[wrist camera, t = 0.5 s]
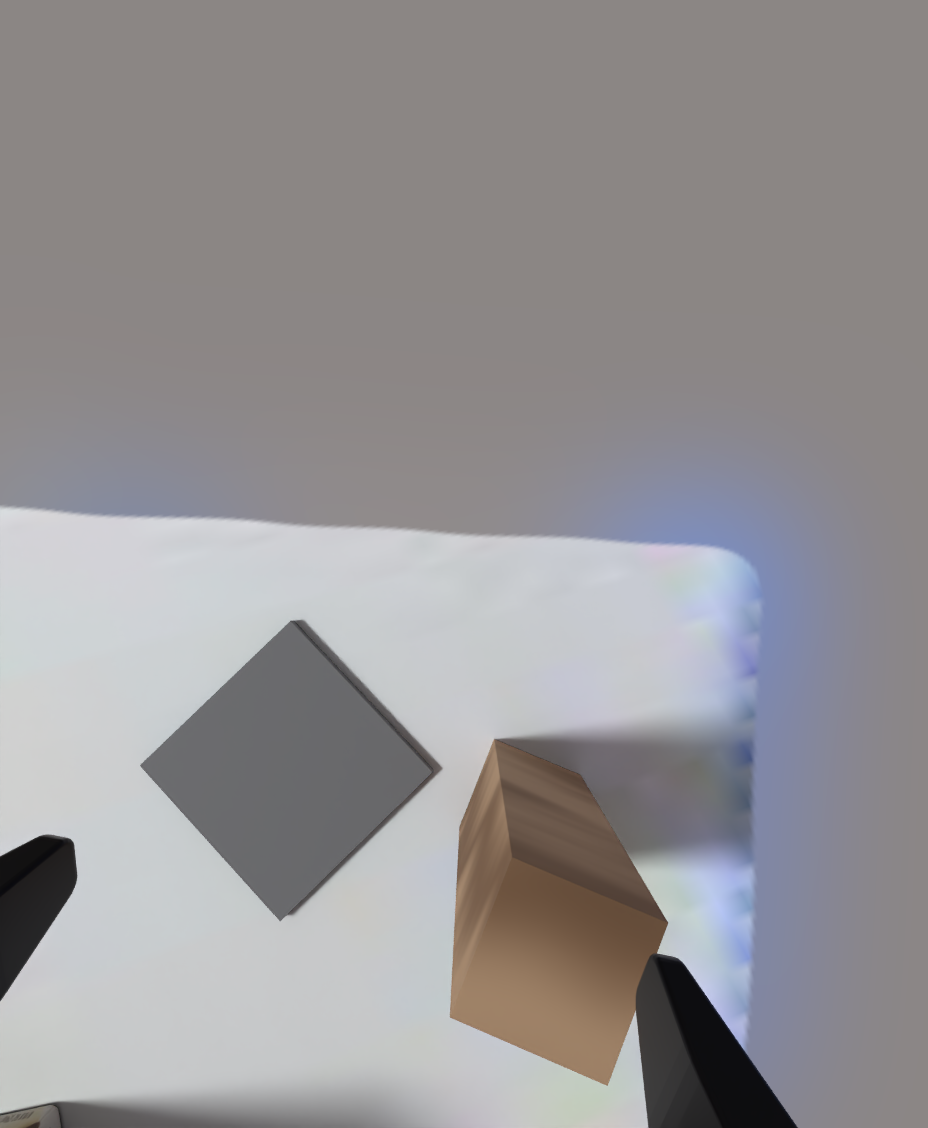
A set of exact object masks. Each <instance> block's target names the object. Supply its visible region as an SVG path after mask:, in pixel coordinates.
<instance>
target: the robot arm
mask: <svg viewBox="0 0 928 1128" xmlns="http://www.w3.org/2000/svg"><path fill="white" fill-rule="evenodd" d="M76 881H77V867H76V858H75V849H74V843H73V841H72V840H71V839H69V838H65V837H60V836H55V835H42V836H39V837H37V838H35V839H33V840H31V841H29V842H27V843H25V844H23V845H21V846H19V847H17V848H15V849H13V850H11V851H9V852H8V853H6V854H4V855H2V856H0V1001H1V1000H2V998H3V997H4V995H5V994H6V992H7V991H8V989H9V988H10V986H11V985H12V983H13V982H14V980H15V979H16V977H17V976H18V974H19V973H20V971H21V970H22V968H23V967H24V965H25V964H26V962H27V961H28V959H29V958H30V956H31V955H32V953H33V952H34V950H35V949H36V947H37V946H38V944H39V943H40V941H41V940H42V938H43V937H44V935H45V933H46V932H47V930H48V929H49V927H50V926H51V924H52V923H53V921H54V920H55V918H56V917H57V915H58V914H59V912H60V911H61V909H62V908H63V906H64V905H65V903H66V902H67V900H68V899H69V897H70V896H71V894H72V892H73V890H74V888H75V885H76ZM635 1001H636V1015H637V1025H638V1034H639V1044H640V1053H641V1062H642V1072H643V1081H644V1090H645V1100H646V1109H647V1119H648V1127H649V1128H798V1127H797V1126H796V1125H795V1123H794V1122H793V1120H792V1119H791V1117H790V1116H789V1114H788V1113H787V1112H786V1110H785V1109H784V1107H783V1106H782V1104H781V1103H780V1102H779V1100H778V1099H777V1097H776V1096H775V1094H774V1093H773V1092H772V1090H771V1089H770V1087H769V1086H768V1084H767V1083H766V1081H765V1080H764V1078H763V1077H762V1076H761V1074H760V1073H759V1071H758V1070H757V1068H756V1067H755V1065H754V1064H753V1063H752V1061H751V1060H750V1058H749V1057H748V1055H747V1054H746V1052H745V1051H744V1050H743V1048H742V1047H741V1045H740V1044H739V1042H738V1041H737V1040H736V1038H735V1037H734V1035H733V1034H732V1032H731V1031H730V1029H729V1028H728V1027H727V1025H726V1024H725V1022H724V1021H723V1019H722V1018H721V1016H720V1015H719V1014H718V1012H717V1011H716V1009H715V1008H714V1006H713V1005H712V1004H711V1002H710V1001H709V999H708V998H707V996H706V995H705V993H704V992H703V991H702V989H701V988H700V986H699V985H698V983H697V982H696V980H695V979H694V978H693V976H692V975H691V973H690V972H689V970H688V969H687V968H686V966H685V965H684V964H683V962H682V961H680V960H679V959H678V958H676V957H672V956H667V955H662V954H657V953H653V954H652V955H650V957H649V958H648V961H647V963H646V966H645V968H644V971H643V974H642V976H641V979H640V981H639V984H638V987H637V990H636V1000H635Z"/></svg>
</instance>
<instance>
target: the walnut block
mask: <svg viewBox="0 0 928 1128" xmlns="http://www.w3.org/2000/svg"><path fill="white" fill-rule="evenodd" d="M667 925H668V922H667V920H666V919H665V917H664V915H663V914H662V912H661V910H660V908H659V907H658V905H657V903H656V902H655V900H654V898H653V897H652V895H651V893H650V892H649V890H648V888H647V886H646V885H645V883H644V881H643V880H642V878H641V876H640V875H639V873H638V871H637V870H636V868H635V866H634V865H633V863H632V861H631V859H630V858H629V856H628V854H627V853H626V851H625V849H624V848H623V846H622V844H621V843H620V841H619V839H618V837H617V836H616V834H615V832H614V831H613V829H612V827H611V826H610V824H609V822H608V821H607V819H606V817H605V815H604V814H603V812H602V810H601V809H600V807H599V805H598V804H597V802H596V800H595V799H594V797H593V795H592V794H591V792H590V790H589V788H588V787H587V785H586V783H585V782H584V780H583V778H582V777H581V775H579V774H577V773H575V772H572V771H570V770H567V769H565V768H563V767H560V766H558V765H555V764H553V763H550V762H548V761H546V760H543V759H541V758H538V757H536V756H534V755H531V754H529V753H526V752H524V751H521V750H519V749H517V748H514V747H512V746H509V745H507V744H505V743H502V742H500V741H497V740H495V739H494V741H493V743H492V746H491V749H490V751H489V754H488V756H487V759H486V761H485V764H484V766H483V769H482V771H481V774H480V776H479V779H478V781H477V784H476V787H475V789H474V792H473V794H472V797H471V799H470V802H469V804H468V807H467V809H466V812H465V814H464V817H463V819H462V822H461V825H460V829H459V848H458V868H457V888H456V908H455V927H454V947H453V967H452V986H451V1006H450V1018H453V1019H455V1020H457V1021H460V1022H462V1023H464V1024H467V1025H469V1026H471V1027H473V1028H476V1029H478V1030H480V1031H483V1032H485V1033H487V1034H490V1035H492V1036H494V1037H496V1038H499V1039H501V1040H503V1041H506V1042H508V1043H510V1044H513V1045H515V1046H517V1047H519V1048H522V1049H524V1050H526V1051H529V1052H531V1053H533V1054H536V1055H538V1056H540V1057H542V1058H545V1059H547V1060H549V1061H552V1062H554V1063H556V1064H559V1065H561V1066H563V1067H566V1068H568V1069H570V1070H572V1071H575V1072H577V1073H579V1074H582V1075H584V1076H586V1077H589V1078H591V1079H593V1080H595V1081H598V1082H600V1083H602V1084H605V1085H607V1086H608V1083H609V1080H610V1078H611V1075H612V1072H613V1070H614V1067H615V1064H616V1061H617V1059H618V1056H619V1053H620V1051H621V1048H622V1045H623V1043H624V1040H625V1037H626V1035H627V1032H628V1029H629V1027H630V1024H631V1021H632V1019H633V1016H634V1013H635V1010H636V1001H635V1000H636V990H637V987H638V984H639V981H640V979H641V976H642V974H643V971H644V968H645V966H646V963H647V961H648V958H649V957H650V955H652V954H653V953H657V951H658V949H659V946H660V943H661V941H662V938H663V935H664V933H665V930H666V927H667Z"/></svg>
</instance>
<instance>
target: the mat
mask: <svg viewBox="0 0 928 1128" xmlns="http://www.w3.org/2000/svg"><path fill="white" fill-rule="evenodd" d="M140 766H141V767H142V768H143V770H144V771H145V772H146V773H147V774H148V775H149V776H150V777H151V778H152V780H153V781H154V782H155V783H156V784H157V785H158V786H159V787H160V788H161V790H162V791H163V792H164V793H165V794H166V795H167V796H168V797H169V798H170V800H171V801H172V802H173V803H174V804H175V805H176V806H177V807H178V808H179V810H180V811H181V812H182V813H183V814H184V815H185V816H186V817H187V818H188V819H189V821H190V822H191V823H192V824H193V825H194V826H195V827H196V828H197V829H198V831H199V832H200V833H201V834H202V835H203V836H204V837H205V838H206V839H207V841H208V842H209V843H210V844H211V845H212V846H213V847H214V848H215V849H216V851H217V852H218V853H219V854H220V855H221V856H222V857H223V858H224V859H225V861H226V862H227V863H228V864H229V865H230V866H231V867H232V868H233V869H234V871H235V872H236V873H237V874H238V875H239V876H240V877H241V878H242V879H243V881H244V882H245V883H246V884H247V885H248V886H249V887H250V888H251V889H252V891H253V892H254V893H255V894H256V895H257V896H258V897H259V898H260V899H261V900H262V902H263V903H264V904H265V905H266V906H267V907H268V908H269V909H270V910H271V912H272V913H273V914H274V915H275V916H276V917H277V918H278V919H279V920H280V921H281V920H282V919H283V918H284V917H285V916H286V915H287V914H288V913H289V912H290V911H291V910H292V909H293V908H294V907H295V906H296V905H297V904H298V903H299V902H300V901H301V900H302V899H303V898H304V897H305V896H307V895H308V894H309V893H310V892H311V891H312V890H313V889H314V888H315V887H316V886H317V885H318V884H319V883H320V882H321V881H322V880H323V879H324V878H325V877H326V876H327V875H328V874H329V873H330V872H331V871H332V870H333V869H334V868H335V867H336V866H337V865H338V864H339V863H340V862H341V861H342V860H343V859H344V858H345V857H346V856H347V855H348V854H349V853H350V852H351V851H352V850H354V849H355V848H356V847H357V846H358V845H359V844H360V843H361V842H362V841H363V840H364V839H365V838H366V837H367V836H368V835H369V834H370V833H371V832H372V831H373V830H374V829H375V828H376V827H377V826H378V825H379V824H380V823H381V822H382V821H383V820H384V819H385V818H386V817H387V816H388V815H389V814H390V813H391V812H392V811H393V810H394V809H395V808H396V807H397V806H398V805H399V804H401V803H402V802H403V801H404V800H405V799H406V798H407V797H408V796H409V795H410V794H411V793H412V792H413V791H414V790H415V789H416V788H417V787H418V786H419V785H420V784H421V783H422V782H423V781H424V780H425V779H426V778H427V777H428V776H429V775H430V774H431V773H432V772H433V769H432V768H431V767H430V765H429V764H428V763H427V762H426V761H425V760H424V759H423V758H422V757H421V756H420V755H419V754H418V753H417V752H416V751H415V750H414V748H413V747H412V746H411V745H410V744H409V743H408V742H407V741H406V740H405V739H404V738H403V737H402V736H401V735H400V734H399V732H398V731H397V730H396V729H395V728H394V727H393V726H392V725H391V724H390V723H389V722H388V721H387V720H386V719H385V718H384V717H383V715H382V714H381V713H380V712H379V711H378V710H377V709H376V708H375V707H374V706H373V705H372V704H371V703H370V702H369V701H368V699H367V698H366V697H365V696H364V695H363V694H362V693H361V692H360V691H359V690H358V689H357V688H356V687H355V686H354V685H353V683H352V682H351V681H350V680H349V679H348V678H347V677H346V676H345V675H344V674H343V673H342V672H341V671H340V670H339V669H338V668H337V666H336V665H335V664H334V663H333V662H332V661H331V660H330V659H329V658H328V657H327V656H326V655H325V654H324V653H323V652H322V650H321V649H320V648H319V647H318V646H317V645H316V644H315V643H314V642H313V641H312V640H311V639H310V638H309V637H308V636H307V634H306V633H305V632H304V631H303V630H302V629H301V628H300V627H299V626H298V625H297V624H296V623H295V622H294V621H290V622H289V623H288V624H287V625H286V626H285V627H284V628H283V629H282V630H281V631H280V632H279V633H278V634H277V635H276V636H275V637H273V638H272V639H271V640H270V641H269V642H268V643H267V644H266V645H265V646H264V647H263V648H262V649H261V650H260V651H259V652H258V653H257V654H256V655H255V656H254V657H253V658H252V659H251V660H250V661H248V662H247V663H246V664H245V665H244V666H243V667H242V668H241V669H240V670H239V671H238V672H237V673H236V674H235V675H234V676H233V677H232V678H231V679H230V680H229V681H228V682H227V683H226V684H224V685H223V686H222V687H221V688H220V689H219V690H218V691H217V692H216V693H215V694H214V695H213V696H212V697H211V698H210V699H209V700H208V701H207V702H206V703H205V704H204V705H203V706H202V707H200V708H199V709H198V710H197V711H196V712H195V713H194V714H193V715H192V716H191V717H190V718H189V719H188V720H187V721H186V722H185V723H184V724H183V725H182V726H181V727H180V728H179V729H178V730H176V731H175V732H174V733H173V734H172V735H171V736H170V737H169V738H168V739H167V740H166V741H165V742H164V743H163V744H162V745H161V746H160V747H159V748H158V749H157V750H156V751H155V752H154V753H152V754H151V755H150V756H149V757H148V758H147V759H146V760H145V761H144V762H143V763H142V764H141V765H140Z"/></svg>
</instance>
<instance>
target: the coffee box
mask: <svg viewBox="0 0 928 1128" xmlns="http://www.w3.org/2000/svg"><path fill="white" fill-rule="evenodd" d="M0 1128H61V1124H60V1117H59V1111H58V1108H57V1107H55V1106H53V1105H48V1106H43V1107H38V1108H33V1109H29V1110H24V1111H20V1112H15V1113H10V1114H6V1115H1V1116H0Z"/></svg>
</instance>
